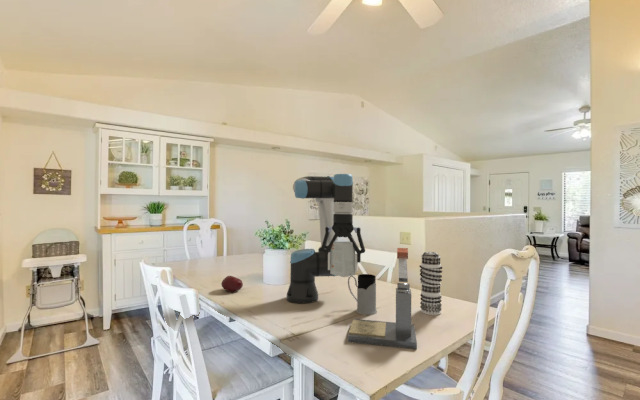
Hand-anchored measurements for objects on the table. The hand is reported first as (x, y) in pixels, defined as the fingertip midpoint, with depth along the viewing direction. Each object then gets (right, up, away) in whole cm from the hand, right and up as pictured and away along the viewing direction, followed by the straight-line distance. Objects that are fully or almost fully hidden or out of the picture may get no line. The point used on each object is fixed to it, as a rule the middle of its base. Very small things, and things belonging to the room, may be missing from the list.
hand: (342, 270), depth 127 cm
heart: (-55, -20, +41) cm, 72 cm away
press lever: (+22, +1, -7) cm, 23 cm away
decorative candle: (+38, -20, +11) cm, 44 cm away
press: (+13, -20, -14) cm, 27 cm away
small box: (0, -2, 0) cm, 2 cm away
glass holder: (+9, -20, +12) cm, 25 cm away
